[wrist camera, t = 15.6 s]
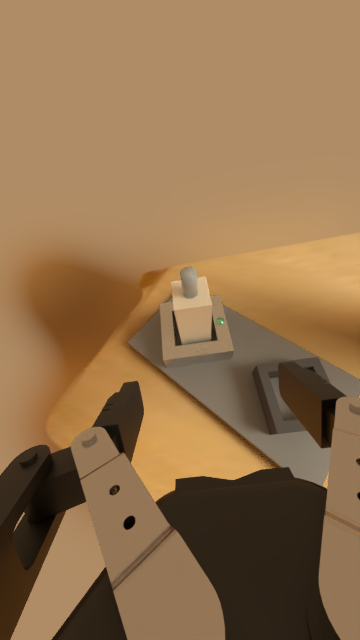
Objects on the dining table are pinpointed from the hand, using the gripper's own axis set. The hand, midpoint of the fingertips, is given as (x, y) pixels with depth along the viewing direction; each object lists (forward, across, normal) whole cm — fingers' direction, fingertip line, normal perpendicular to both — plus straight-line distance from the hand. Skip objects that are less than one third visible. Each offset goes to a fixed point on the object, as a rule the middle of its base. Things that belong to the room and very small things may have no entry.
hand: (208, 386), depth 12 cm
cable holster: (+12, -10, +10) cm, 19 cm away
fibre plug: (+19, 0, +3) cm, 19 cm away
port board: (+17, -5, +7) cm, 19 cm away
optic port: (+19, 0, +3) cm, 19 cm away
